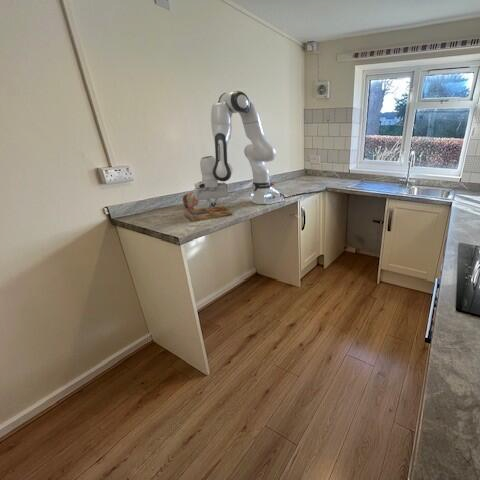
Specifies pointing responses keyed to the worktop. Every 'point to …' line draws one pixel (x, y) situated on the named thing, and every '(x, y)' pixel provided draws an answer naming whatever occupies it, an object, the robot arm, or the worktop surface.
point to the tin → (189, 199)
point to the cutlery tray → (208, 213)
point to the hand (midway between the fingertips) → (213, 205)
